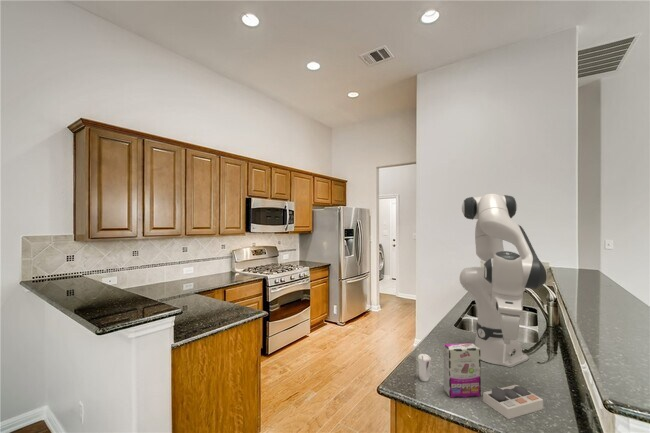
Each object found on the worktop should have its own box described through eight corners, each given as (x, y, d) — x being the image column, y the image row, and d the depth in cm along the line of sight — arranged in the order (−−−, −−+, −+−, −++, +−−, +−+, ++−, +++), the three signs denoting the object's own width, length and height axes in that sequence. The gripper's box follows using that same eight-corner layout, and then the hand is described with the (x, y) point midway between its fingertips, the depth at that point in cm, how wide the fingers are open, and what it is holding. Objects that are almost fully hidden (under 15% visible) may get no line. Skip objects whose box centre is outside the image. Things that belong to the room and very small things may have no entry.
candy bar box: (472, 388, 104) (473, 342, 105) (481, 397, 99) (481, 348, 100) (442, 389, 104) (442, 343, 104) (449, 398, 99) (449, 349, 99)
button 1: (497, 395, 97) (497, 386, 97) (508, 402, 93) (508, 393, 93) (488, 397, 96) (488, 388, 96) (499, 404, 92) (499, 395, 92)
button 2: (519, 394, 100) (519, 385, 100) (530, 400, 97) (530, 391, 97) (511, 396, 99) (511, 387, 99) (522, 402, 95) (522, 393, 95)
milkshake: (415, 381, 109) (415, 354, 109) (419, 374, 113) (420, 348, 113) (428, 385, 106) (428, 357, 106) (431, 378, 111) (432, 352, 111)
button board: (516, 393, 102) (516, 383, 102) (543, 409, 93) (543, 398, 93) (483, 401, 97) (483, 391, 97) (508, 419, 89) (508, 408, 89)
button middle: (508, 396, 99) (508, 387, 99) (519, 403, 95) (519, 394, 95) (500, 398, 97) (500, 389, 97) (510, 405, 94) (510, 396, 94)
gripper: (493, 292, 108) (493, 329, 108) (498, 309, 89) (498, 353, 90) (513, 294, 105) (513, 332, 105) (523, 312, 87) (522, 358, 87)
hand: (506, 342), depth 97 cm, fingers closed
